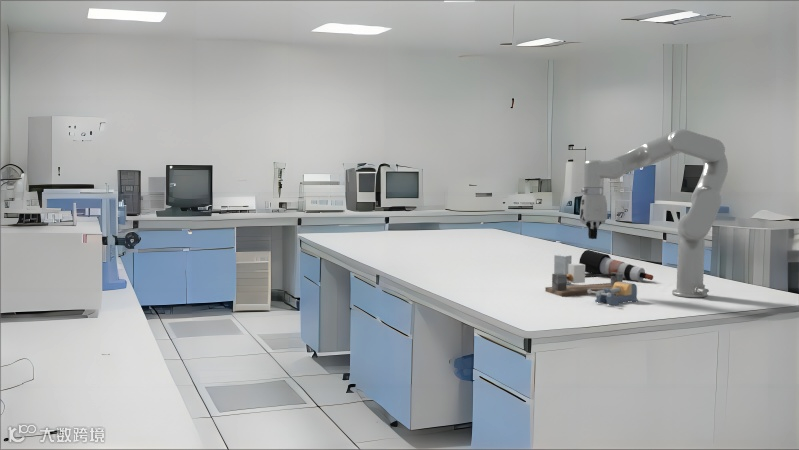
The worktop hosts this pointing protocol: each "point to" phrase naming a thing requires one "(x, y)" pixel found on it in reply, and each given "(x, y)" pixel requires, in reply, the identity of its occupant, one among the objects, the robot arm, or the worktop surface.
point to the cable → (611, 266)
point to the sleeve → (577, 273)
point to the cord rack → (562, 289)
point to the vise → (617, 293)
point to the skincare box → (562, 264)
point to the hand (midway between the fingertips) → (592, 238)
